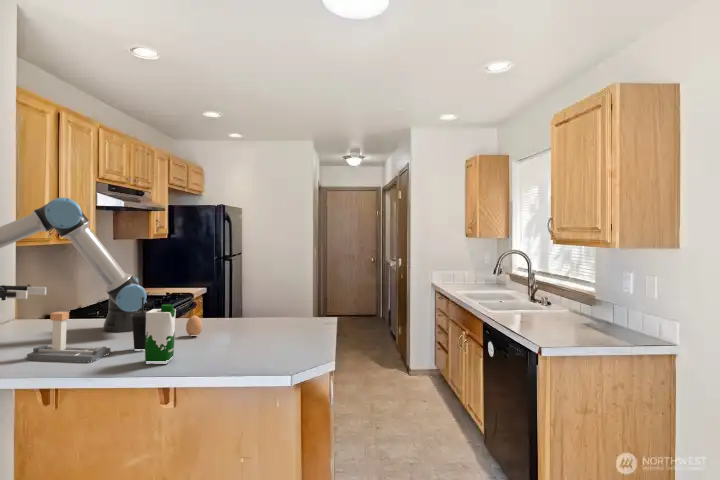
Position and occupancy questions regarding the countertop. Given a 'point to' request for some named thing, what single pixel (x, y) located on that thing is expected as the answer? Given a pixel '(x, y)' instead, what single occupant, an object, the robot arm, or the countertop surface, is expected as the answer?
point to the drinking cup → (139, 327)
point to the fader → (59, 330)
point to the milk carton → (160, 333)
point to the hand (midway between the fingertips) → (36, 292)
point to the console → (67, 353)
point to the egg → (194, 325)
